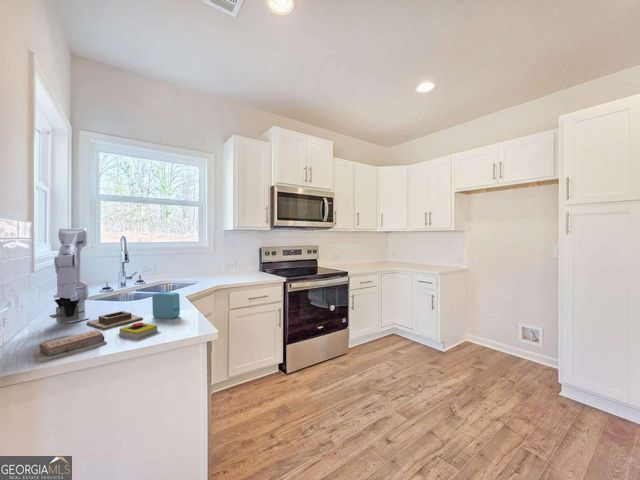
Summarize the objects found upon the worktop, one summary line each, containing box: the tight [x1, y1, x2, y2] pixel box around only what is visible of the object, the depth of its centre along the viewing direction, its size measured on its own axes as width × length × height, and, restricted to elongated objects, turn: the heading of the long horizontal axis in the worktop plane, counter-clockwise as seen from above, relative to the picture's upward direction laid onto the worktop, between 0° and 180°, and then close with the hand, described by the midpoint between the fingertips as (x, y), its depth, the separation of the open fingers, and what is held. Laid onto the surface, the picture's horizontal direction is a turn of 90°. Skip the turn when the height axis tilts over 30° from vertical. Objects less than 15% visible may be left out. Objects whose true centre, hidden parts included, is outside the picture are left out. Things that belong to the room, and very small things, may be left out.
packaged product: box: [33, 329, 108, 363], centre depth 100 cm, size 18×5×10 cm
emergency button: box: [116, 322, 162, 341], centre depth 115 cm, size 9×4×15 cm
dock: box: [86, 310, 144, 331], centre depth 130 cm, size 16×16×3 cm
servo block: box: [49, 305, 86, 324], centre depth 116 cm, size 4×10×7 cm, turn 150°
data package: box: [151, 291, 181, 320], centre depth 137 cm, size 12×4×12 cm, turn 77°
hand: (67, 315), depth 116 cm, fingers closed on servo block, 4 cm apart
